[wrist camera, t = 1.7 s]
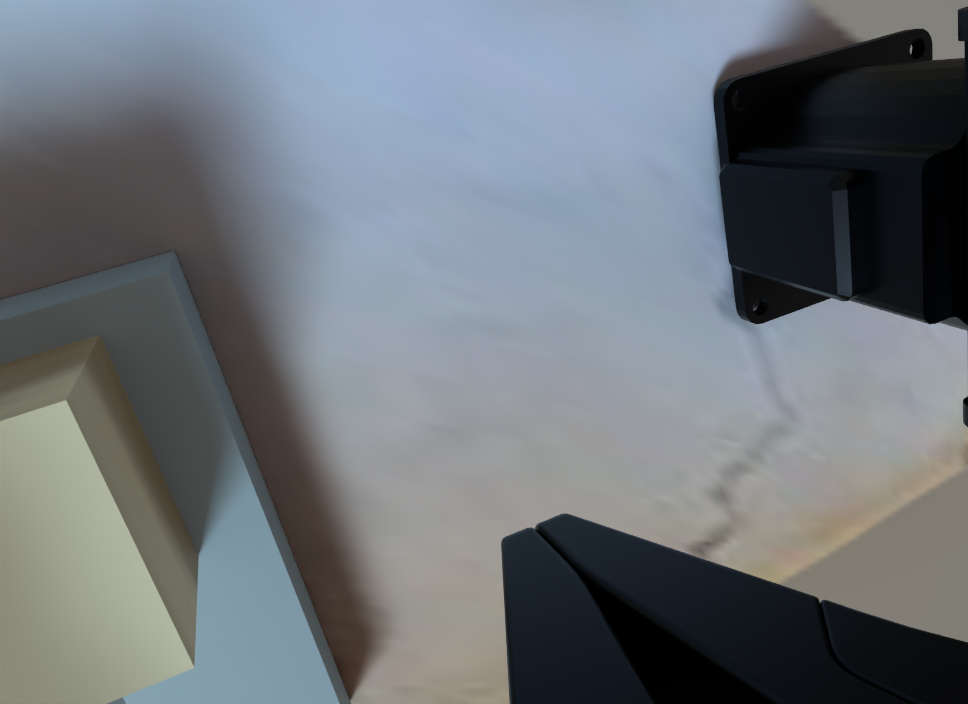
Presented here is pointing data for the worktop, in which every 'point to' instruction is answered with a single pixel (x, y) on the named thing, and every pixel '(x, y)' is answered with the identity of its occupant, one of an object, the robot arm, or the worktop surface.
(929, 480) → the worktop surface
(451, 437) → the worktop surface
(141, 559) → the block
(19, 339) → the board
